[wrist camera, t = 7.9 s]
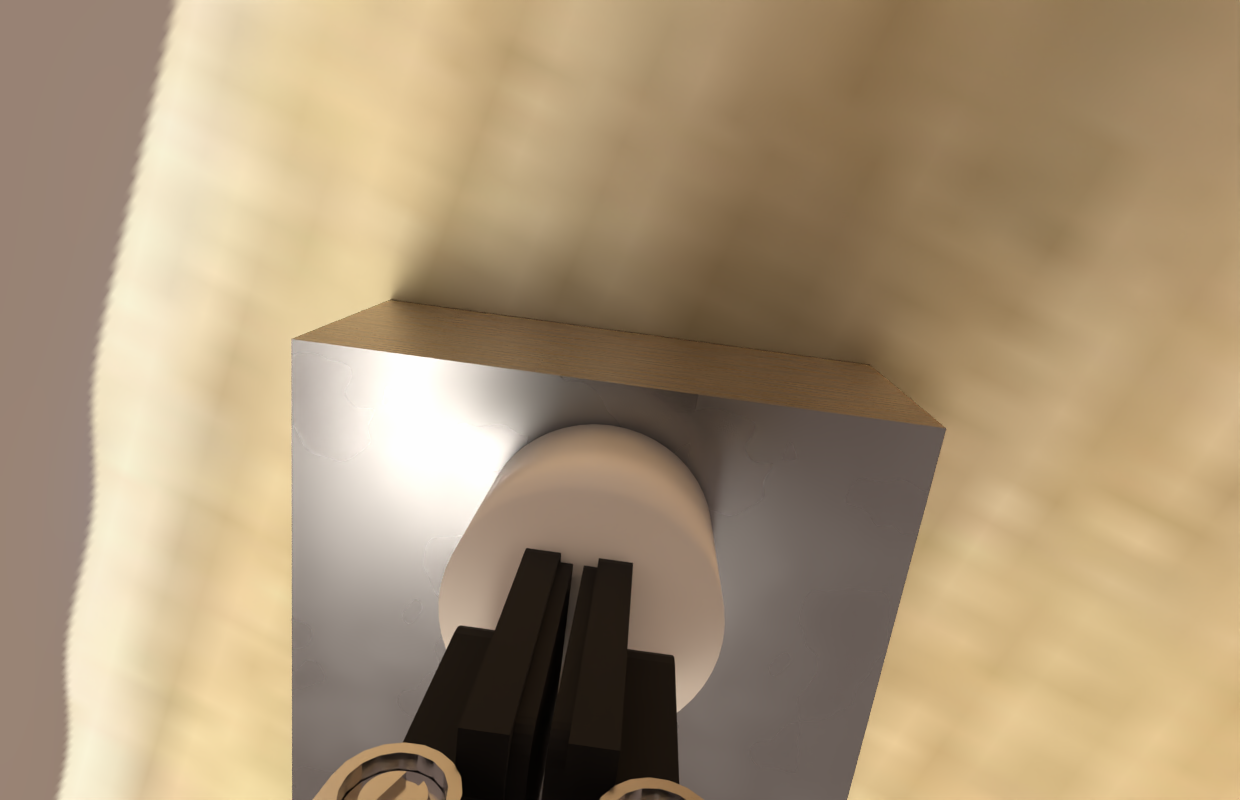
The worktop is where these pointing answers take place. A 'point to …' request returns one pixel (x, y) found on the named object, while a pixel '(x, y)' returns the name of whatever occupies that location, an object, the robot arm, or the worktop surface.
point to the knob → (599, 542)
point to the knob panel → (642, 402)
